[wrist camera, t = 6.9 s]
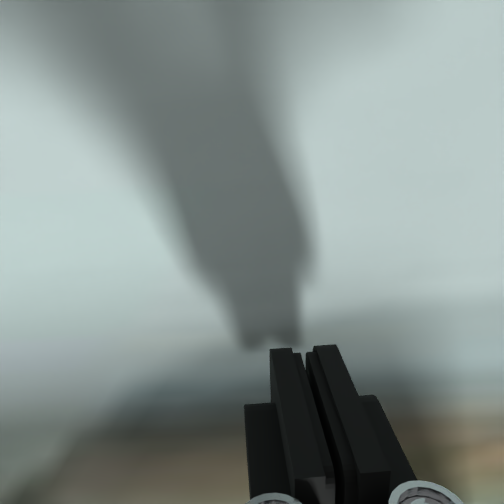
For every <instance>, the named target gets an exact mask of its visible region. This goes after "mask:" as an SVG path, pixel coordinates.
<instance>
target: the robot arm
mask: <svg viewBox="0 0 504 504" xmlns="http://www.w3.org/2000/svg"><path fill="white" fill-rule="evenodd" d="M270 384H271V403H261V404H248V405H244V414H245V431H246V447H247V462H248V476H249V490H250V501H248V502H247V503H246V504H464V503H463V502H462V501H461V500H460V499H459V498H458V497H457V496H456V495H455V494H454V493H452V492H451V491H449V490H448V489H446V488H445V487H443V486H440V485H438V484H435V483H433V482H427V481H421V480H417V479H416V477H415V475H414V473H413V471H412V469H411V466H410V464H409V462H408V460H407V458H406V456H405V454H404V452H403V450H402V448H401V446H400V444H399V442H398V440H397V438H396V436H395V434H394V432H393V430H392V427H391V425H390V423H389V421H388V419H387V417H386V415H385V413H384V411H383V409H382V407H381V405H380V403H379V401H378V399H377V398H376V396H374V395H365V396H358V394H357V391H356V389H355V387H354V384H353V382H352V380H351V377H350V375H349V373H348V370H347V368H346V366H345V364H344V361H343V359H342V357H341V354H340V352H339V350H338V347H337V346H336V345H321V346H314V348H313V352H307V353H306V370H305V367H304V364H303V360H302V357H301V354H300V353H293V351H292V348H279V349H270Z"/></svg>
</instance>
